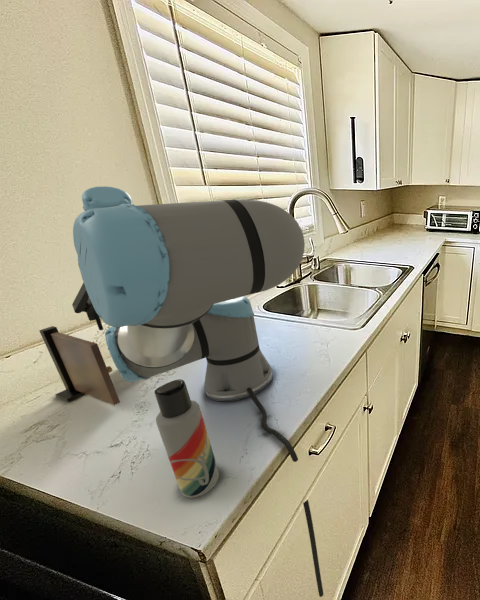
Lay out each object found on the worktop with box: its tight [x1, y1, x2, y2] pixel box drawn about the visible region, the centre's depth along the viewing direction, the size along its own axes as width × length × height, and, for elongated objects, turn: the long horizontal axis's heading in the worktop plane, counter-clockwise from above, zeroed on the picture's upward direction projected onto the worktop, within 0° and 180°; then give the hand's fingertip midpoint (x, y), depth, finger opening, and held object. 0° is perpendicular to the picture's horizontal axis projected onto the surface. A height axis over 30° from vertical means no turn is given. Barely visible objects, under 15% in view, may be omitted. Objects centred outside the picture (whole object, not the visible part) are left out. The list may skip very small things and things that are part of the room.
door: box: [51, 331, 121, 406], centre depth 73 cm, size 15×2×15 cm, turn 68°
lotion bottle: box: [154, 379, 220, 499], centre depth 51 cm, size 6×6×20 cm
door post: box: [38, 325, 85, 403], centre depth 76 cm, size 5×6×17 cm
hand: (134, 318), depth 86 cm, fingers open, 13 cm apart
